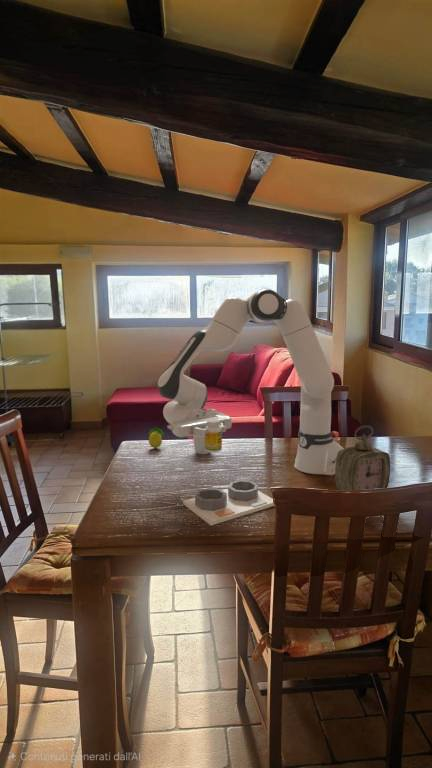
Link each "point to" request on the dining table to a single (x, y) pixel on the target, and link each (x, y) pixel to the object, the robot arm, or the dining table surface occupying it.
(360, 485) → the tabletop clock
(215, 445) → the supplement bottle
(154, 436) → the lemon
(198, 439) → the cup
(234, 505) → the socket board
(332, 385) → the robot arm
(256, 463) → the dining table surface
